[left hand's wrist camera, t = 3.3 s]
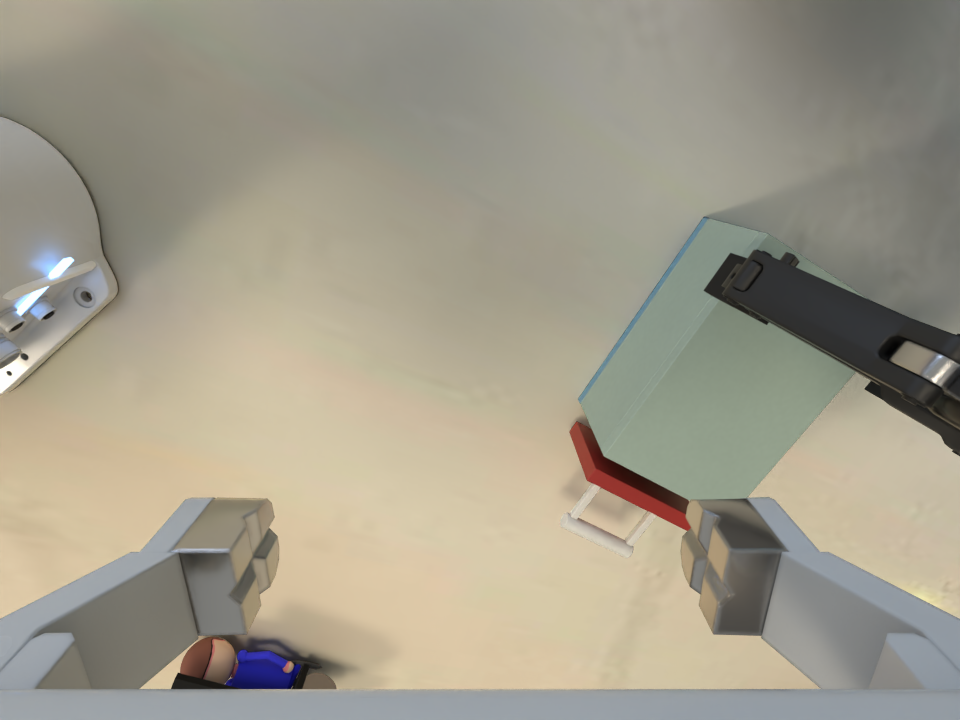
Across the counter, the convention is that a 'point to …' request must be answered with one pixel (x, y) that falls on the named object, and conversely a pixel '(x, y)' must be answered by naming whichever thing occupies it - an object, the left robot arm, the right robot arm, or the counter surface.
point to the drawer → (622, 485)
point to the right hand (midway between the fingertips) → (804, 326)
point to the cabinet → (708, 379)
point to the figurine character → (244, 669)
